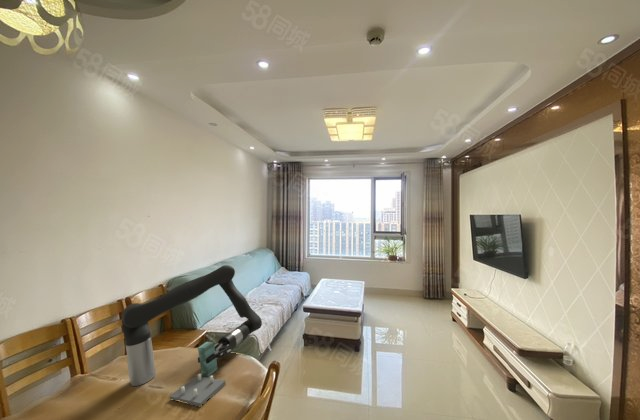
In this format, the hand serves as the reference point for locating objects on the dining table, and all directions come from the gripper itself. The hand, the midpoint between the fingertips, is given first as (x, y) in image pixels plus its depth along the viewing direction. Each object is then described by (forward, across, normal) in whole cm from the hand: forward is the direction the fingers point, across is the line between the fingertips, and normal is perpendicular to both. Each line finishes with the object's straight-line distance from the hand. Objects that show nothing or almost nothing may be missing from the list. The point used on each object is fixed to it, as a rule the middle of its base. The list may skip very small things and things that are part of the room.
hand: (202, 360), depth 108 cm
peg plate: (+8, +6, +7) cm, 12 cm away
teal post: (-3, 0, +7) cm, 7 cm away
